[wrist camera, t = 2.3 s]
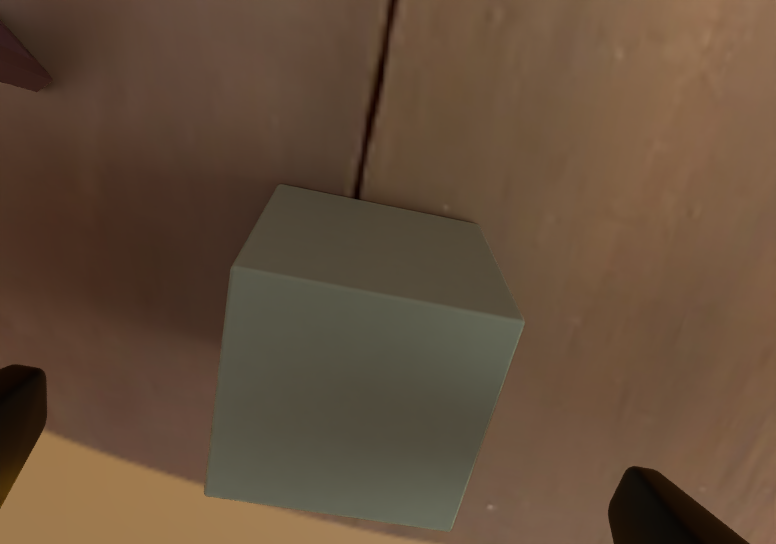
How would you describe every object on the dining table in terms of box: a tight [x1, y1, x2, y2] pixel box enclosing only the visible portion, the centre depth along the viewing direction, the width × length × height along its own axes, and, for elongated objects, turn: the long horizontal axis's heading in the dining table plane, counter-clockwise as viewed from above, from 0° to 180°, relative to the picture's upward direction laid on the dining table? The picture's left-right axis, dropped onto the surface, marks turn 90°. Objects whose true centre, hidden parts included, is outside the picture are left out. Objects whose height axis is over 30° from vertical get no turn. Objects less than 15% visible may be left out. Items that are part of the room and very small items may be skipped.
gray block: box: [204, 184, 525, 532], centre depth 12 cm, size 4×4×4 cm
